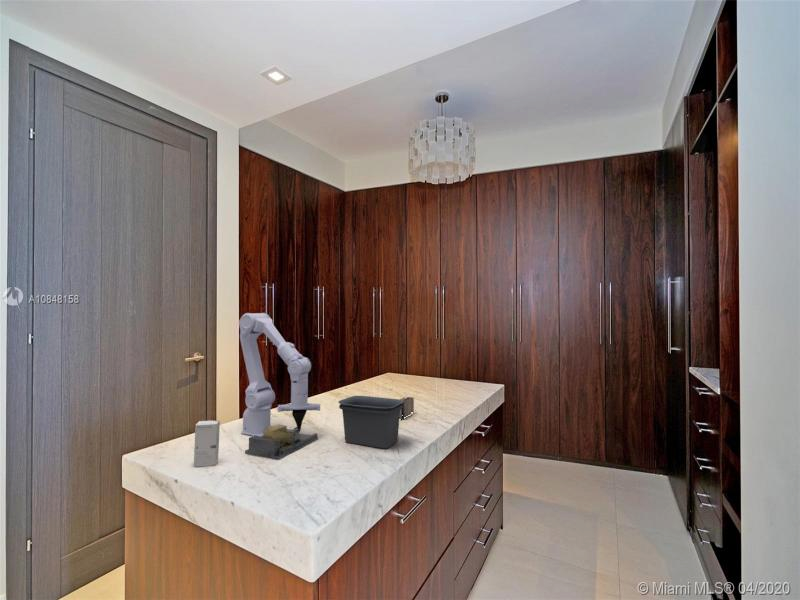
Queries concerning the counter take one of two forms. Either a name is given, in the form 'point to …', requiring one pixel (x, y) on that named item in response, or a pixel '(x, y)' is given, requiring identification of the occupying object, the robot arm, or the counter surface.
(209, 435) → the skincare box
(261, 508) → the counter surface
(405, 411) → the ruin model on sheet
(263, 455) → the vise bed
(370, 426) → the storage bin
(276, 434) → the brass block
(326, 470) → the counter surface
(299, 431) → the free jaw
